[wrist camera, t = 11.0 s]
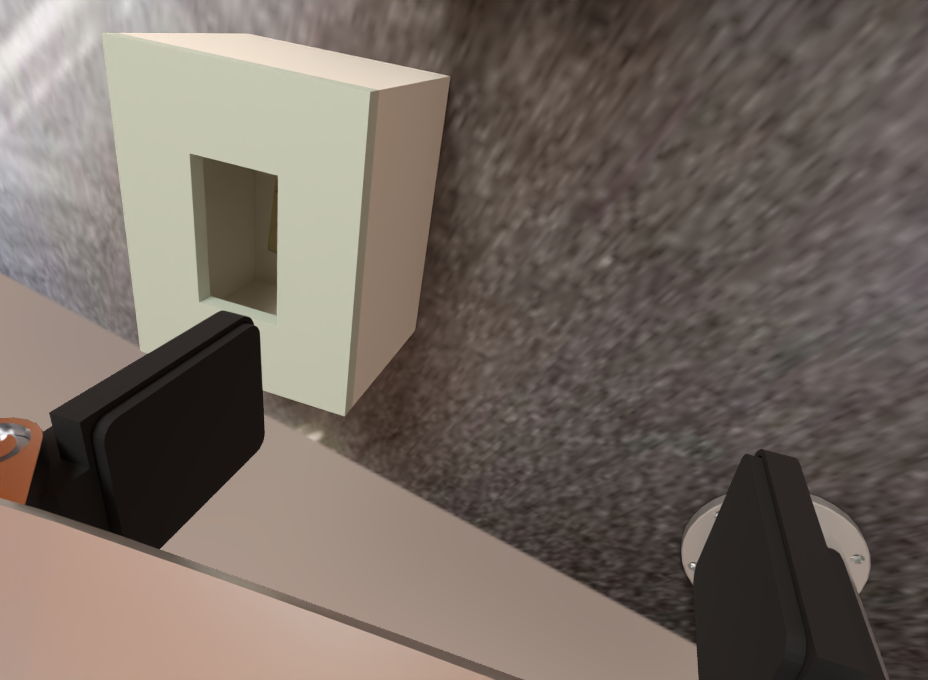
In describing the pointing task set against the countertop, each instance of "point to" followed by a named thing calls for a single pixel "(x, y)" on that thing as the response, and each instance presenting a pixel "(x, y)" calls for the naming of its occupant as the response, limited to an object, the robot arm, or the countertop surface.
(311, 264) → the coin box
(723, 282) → the countertop surface
